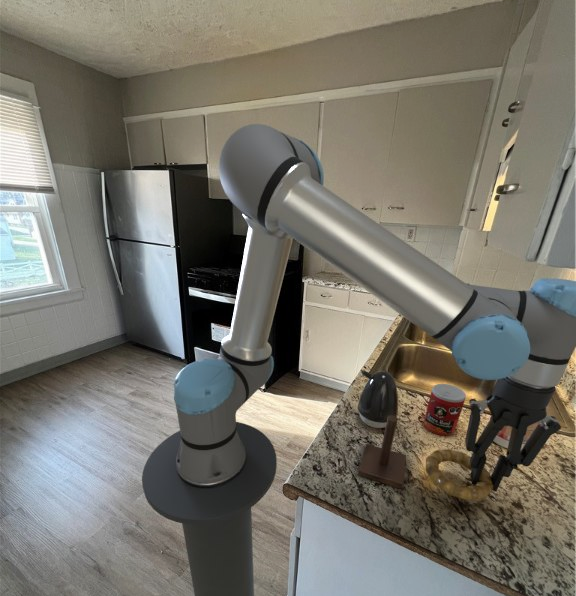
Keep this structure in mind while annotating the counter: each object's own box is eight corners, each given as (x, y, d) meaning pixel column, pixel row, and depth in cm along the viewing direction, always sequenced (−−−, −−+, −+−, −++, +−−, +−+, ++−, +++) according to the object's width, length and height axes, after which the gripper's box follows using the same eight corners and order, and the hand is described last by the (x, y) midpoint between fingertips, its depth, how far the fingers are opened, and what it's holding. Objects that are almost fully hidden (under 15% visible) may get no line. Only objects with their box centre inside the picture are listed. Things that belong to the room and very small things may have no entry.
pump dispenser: (360, 406, 90) (367, 359, 84) (397, 416, 87) (407, 368, 80) (351, 426, 82) (358, 376, 76) (391, 438, 78) (403, 386, 72)
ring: (424, 489, 59) (427, 480, 58) (425, 449, 69) (427, 440, 68) (495, 512, 55) (499, 503, 54) (485, 466, 65) (488, 457, 64)
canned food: (418, 427, 83) (428, 391, 78) (429, 413, 88) (438, 380, 83) (449, 440, 78) (461, 404, 73) (458, 425, 84) (469, 390, 79)
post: (358, 475, 67) (366, 425, 62) (365, 448, 75) (373, 401, 69) (401, 489, 64) (415, 438, 59) (404, 459, 72) (416, 411, 66)
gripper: (578, 377, 51) (525, 481, 61) (470, 358, 56) (438, 457, 66) (599, 402, 45) (536, 513, 55) (476, 377, 50) (439, 483, 60)
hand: (483, 482), depth 61 cm, fingers closed on ring, 3 cm apart
